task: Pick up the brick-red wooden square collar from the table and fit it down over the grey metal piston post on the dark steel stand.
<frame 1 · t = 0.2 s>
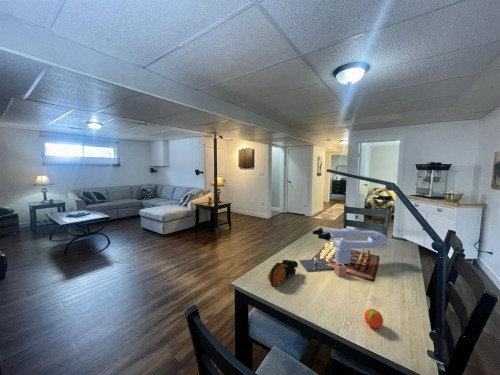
hand: (315, 234, 143), 21 cm above the table, tool horizontal, fingers open, 7 cm apart
collar: (340, 274, 133), on the table
tool: (283, 278, 128), on the table
clementine: (372, 326, 91), on the table
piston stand: (315, 265, 144), on the table
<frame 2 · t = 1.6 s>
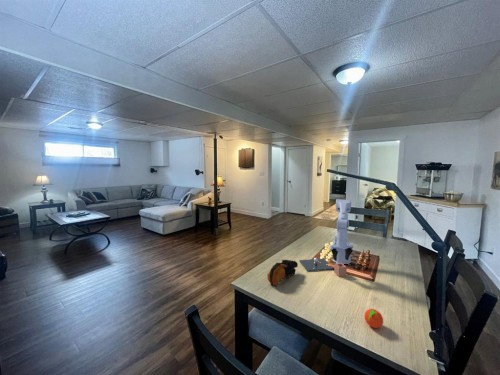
hand: (340, 259, 132), 9 cm above the table, tool pointing down, fingers open, 7 cm apart
nothing on the table moved.
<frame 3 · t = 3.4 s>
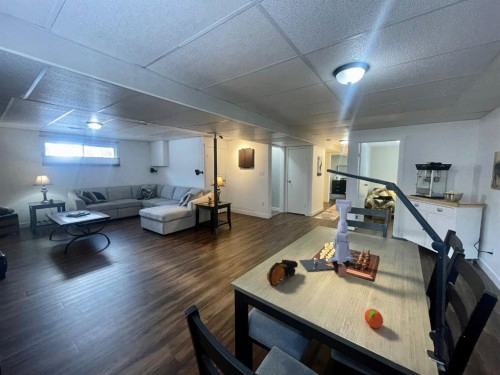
hand: (340, 272, 133), 1 cm above the table, tool pointing down, fingers closed on collar, 5 cm apart
collar: (340, 274, 133), on the table, touching gripper
everything else where it was.
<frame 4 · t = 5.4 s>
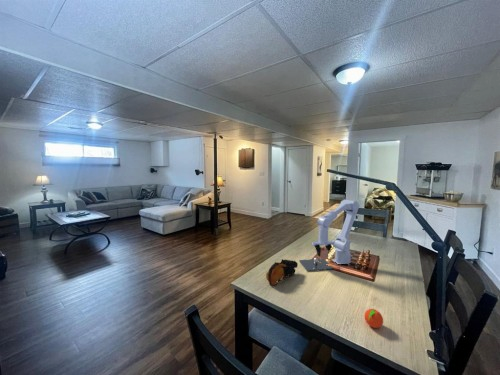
hand: (322, 255, 140), 8 cm above the table, tool pointing down, fingers closed on collar, 5 cm apart
collar: (322, 257, 140), point 7 cm above the table, touching gripper
everything else where it was.
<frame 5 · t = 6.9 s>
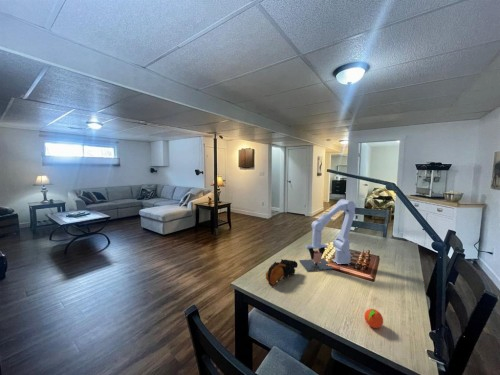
hand: (316, 258, 144), 5 cm above the table, tool pointing down, fingers closed on collar, 5 cm apart
collar: (316, 260, 144), point 3 cm above the table, touching gripper
everything else where it was.
when the fingers open (5 cm above the table, at t = 7.8 s): collar drops 2 cm, resting on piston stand.
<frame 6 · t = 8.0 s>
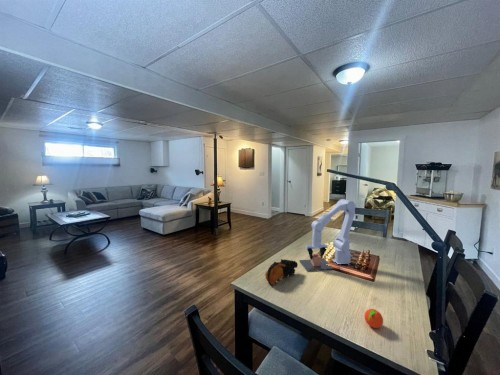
hand: (316, 258, 144), 5 cm above the table, tool pointing down, fingers open, 7 cm apart
collar: (315, 264, 144), point 1 cm above the table, touching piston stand
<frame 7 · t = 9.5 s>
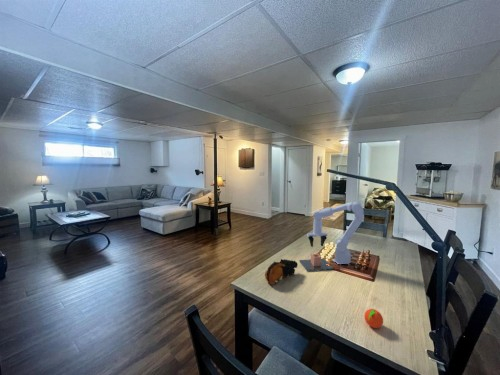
hand: (316, 246, 154), 9 cm above the table, tool pointing down, fingers open, 7 cm apart
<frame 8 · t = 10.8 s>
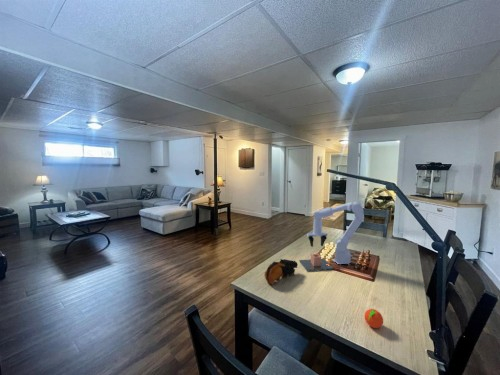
hand: (316, 245, 154), 9 cm above the table, tool pointing down, fingers open, 7 cm apart
at the end: collar 0.1 cm off-centre on the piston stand, point 1.0 cm above the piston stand's base; collar tilted 0°; the gripper is holding nothing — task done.
